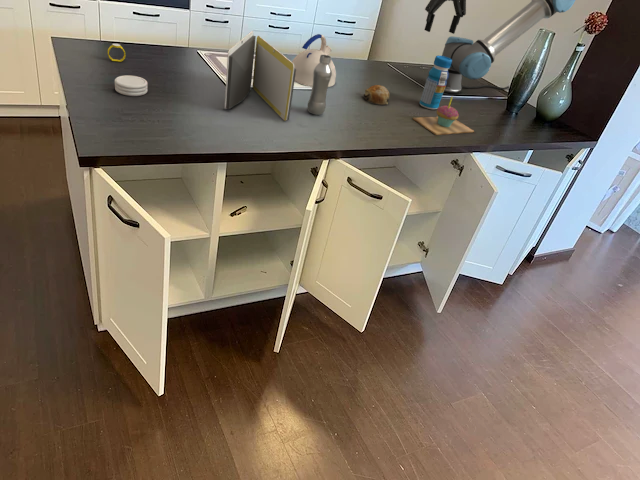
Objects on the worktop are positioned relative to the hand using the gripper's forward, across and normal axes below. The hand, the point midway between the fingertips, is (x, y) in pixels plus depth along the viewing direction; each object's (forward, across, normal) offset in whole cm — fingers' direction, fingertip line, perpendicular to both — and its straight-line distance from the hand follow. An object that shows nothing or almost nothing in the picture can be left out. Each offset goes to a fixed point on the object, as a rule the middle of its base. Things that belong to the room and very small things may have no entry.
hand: (439, 32), depth 195 cm
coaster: (+27, +120, -7) cm, 123 cm away
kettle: (+27, +45, -19) cm, 56 cm away
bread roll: (+27, +28, +5) cm, 39 cm away
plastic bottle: (+27, +62, +15) cm, 69 cm away
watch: (+27, +119, -36) cm, 127 cm away
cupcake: (+26, +13, +30) cm, 42 cm away
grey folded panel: (+27, +84, +4) cm, 88 cm away
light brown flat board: (+27, +13, +30) cm, 43 cm away
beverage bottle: (+27, +5, +12) cm, 30 cm away
